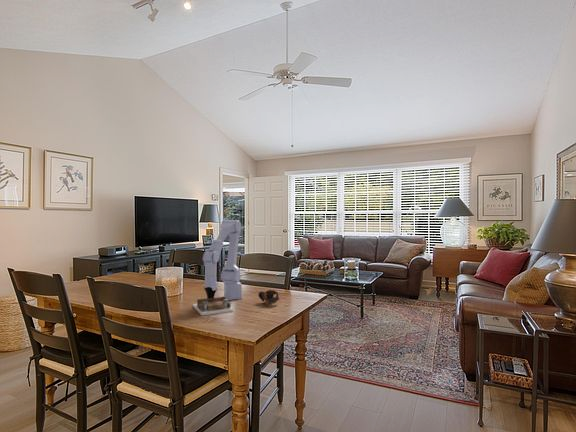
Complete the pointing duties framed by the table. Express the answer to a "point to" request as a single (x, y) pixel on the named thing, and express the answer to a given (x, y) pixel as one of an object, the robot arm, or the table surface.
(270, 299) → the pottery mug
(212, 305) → the brown rectangular box
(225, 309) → the board
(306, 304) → the table surface
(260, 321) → the table surface
